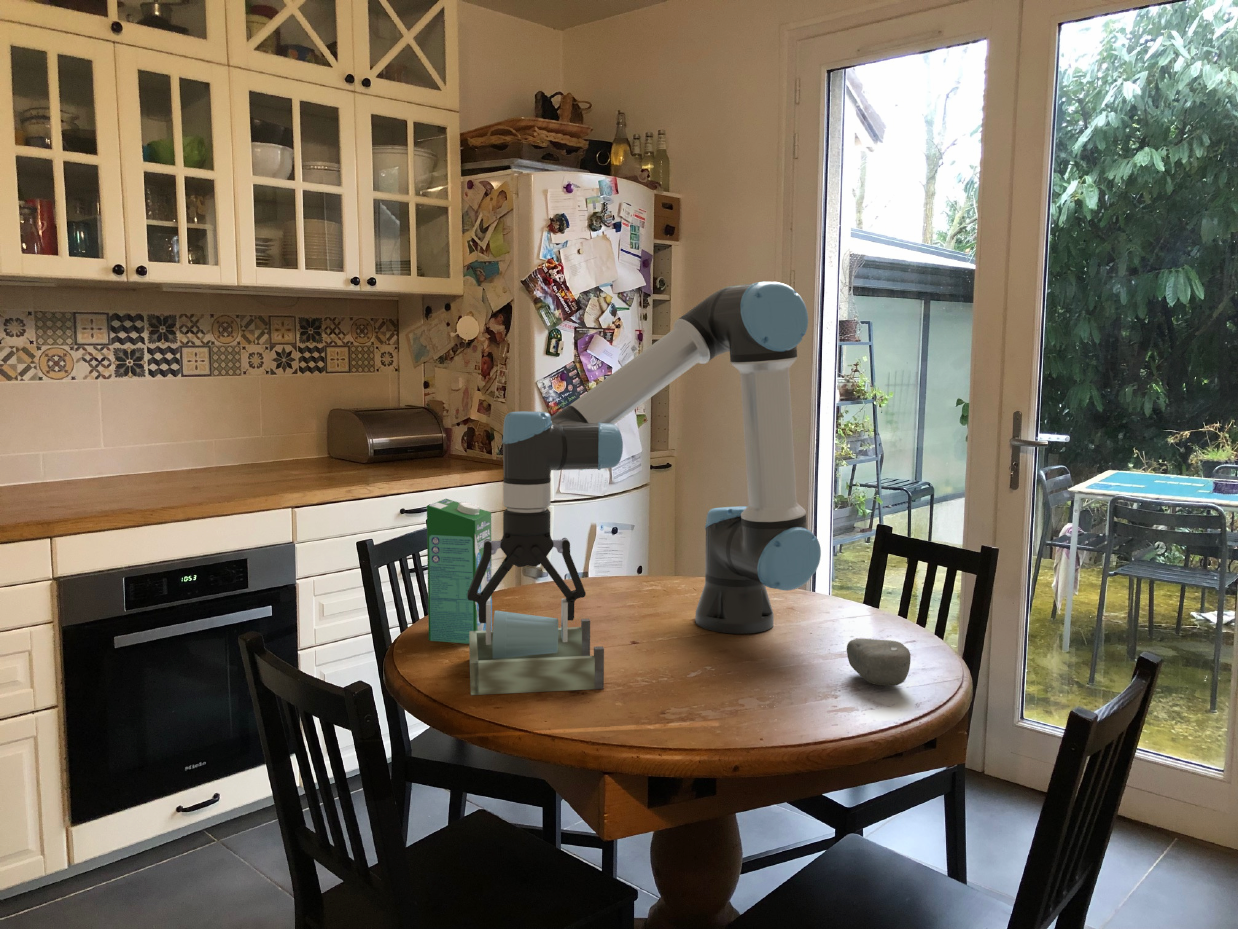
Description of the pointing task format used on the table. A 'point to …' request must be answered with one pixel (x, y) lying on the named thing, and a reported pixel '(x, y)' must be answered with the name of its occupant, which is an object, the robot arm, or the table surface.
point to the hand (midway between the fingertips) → (526, 641)
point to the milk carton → (455, 568)
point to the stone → (879, 660)
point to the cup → (523, 635)
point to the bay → (537, 666)
